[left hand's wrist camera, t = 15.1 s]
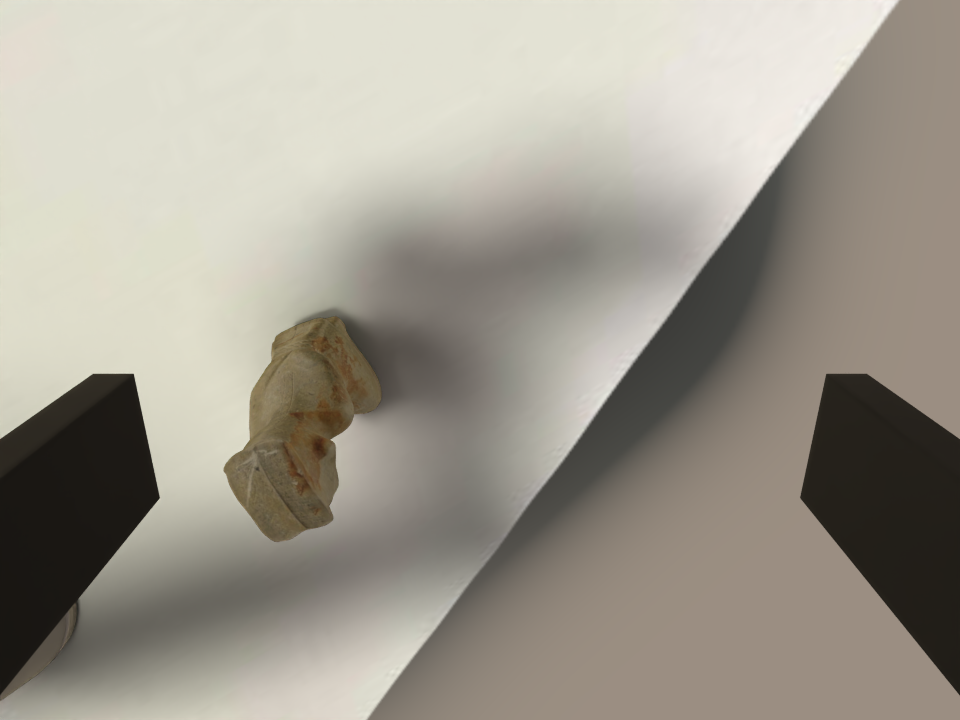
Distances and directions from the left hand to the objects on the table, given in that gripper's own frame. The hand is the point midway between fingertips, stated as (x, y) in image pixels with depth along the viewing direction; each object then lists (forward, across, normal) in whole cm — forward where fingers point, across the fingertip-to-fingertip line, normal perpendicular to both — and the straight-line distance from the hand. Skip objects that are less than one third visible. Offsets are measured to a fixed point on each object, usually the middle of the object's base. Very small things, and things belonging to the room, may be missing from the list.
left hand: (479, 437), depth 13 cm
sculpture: (+28, +9, +10) cm, 31 cm away
